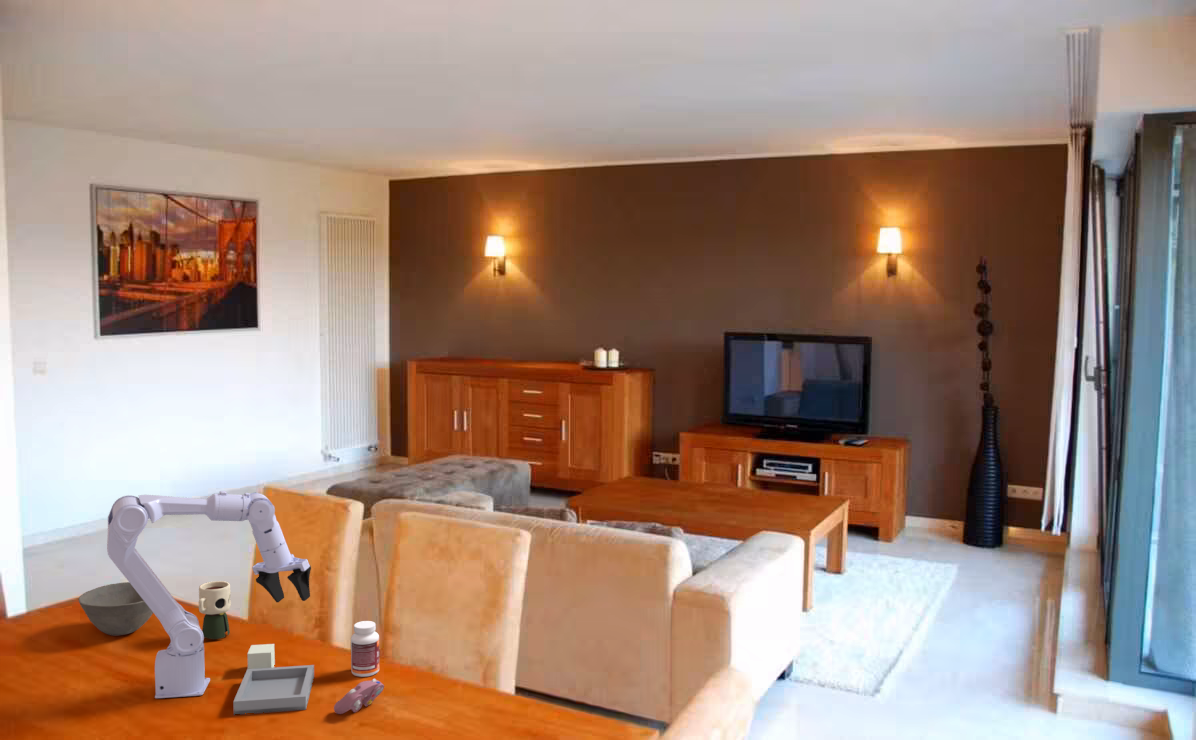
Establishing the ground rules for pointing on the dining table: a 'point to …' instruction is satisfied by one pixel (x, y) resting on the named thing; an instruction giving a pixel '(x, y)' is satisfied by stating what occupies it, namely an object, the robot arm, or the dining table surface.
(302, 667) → the tray
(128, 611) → the bowl
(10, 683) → the dining table surface
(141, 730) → the dining table surface
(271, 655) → the block
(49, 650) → the dining table surface
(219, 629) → the character mug
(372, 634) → the pill bottle
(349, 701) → the video game controller
